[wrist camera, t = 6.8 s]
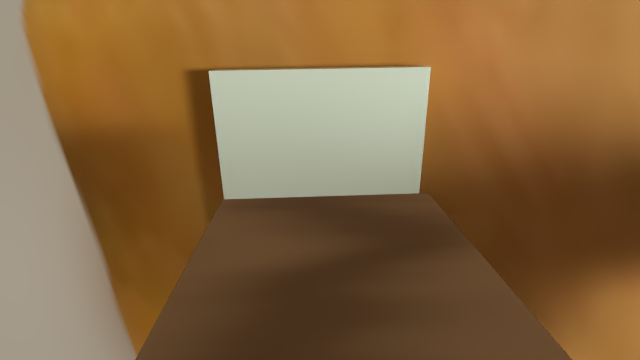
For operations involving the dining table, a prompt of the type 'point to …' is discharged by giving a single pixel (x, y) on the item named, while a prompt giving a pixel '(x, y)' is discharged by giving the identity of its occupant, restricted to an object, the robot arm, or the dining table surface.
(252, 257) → the walnut cube
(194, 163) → the dining table surface
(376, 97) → the plate
